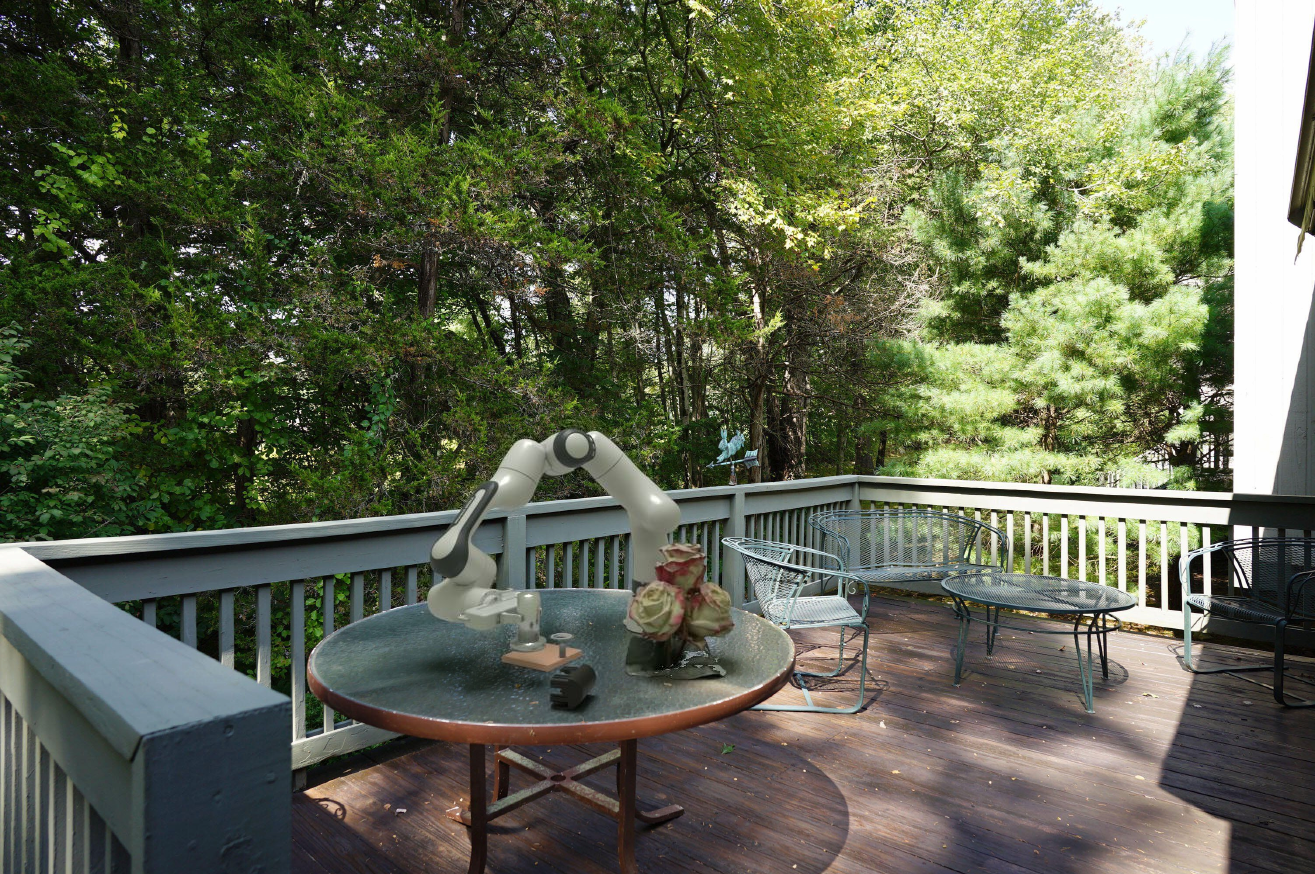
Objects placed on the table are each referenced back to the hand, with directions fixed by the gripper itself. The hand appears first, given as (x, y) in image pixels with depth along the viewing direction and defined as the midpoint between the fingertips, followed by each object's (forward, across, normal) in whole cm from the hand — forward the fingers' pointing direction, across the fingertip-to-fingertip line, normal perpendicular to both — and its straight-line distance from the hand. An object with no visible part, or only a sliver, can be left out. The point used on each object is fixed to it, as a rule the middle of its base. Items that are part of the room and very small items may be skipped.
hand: (531, 615), depth 160 cm
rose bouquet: (+23, +29, +16) cm, 41 cm away
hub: (-1, 0, +7) cm, 7 cm away
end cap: (+15, -4, +15) cm, 22 cm away
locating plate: (-8, +15, +15) cm, 23 cm away
